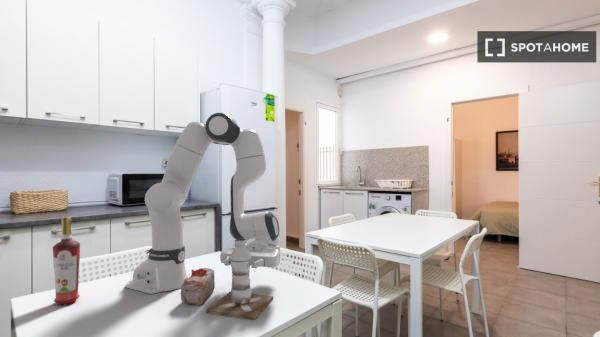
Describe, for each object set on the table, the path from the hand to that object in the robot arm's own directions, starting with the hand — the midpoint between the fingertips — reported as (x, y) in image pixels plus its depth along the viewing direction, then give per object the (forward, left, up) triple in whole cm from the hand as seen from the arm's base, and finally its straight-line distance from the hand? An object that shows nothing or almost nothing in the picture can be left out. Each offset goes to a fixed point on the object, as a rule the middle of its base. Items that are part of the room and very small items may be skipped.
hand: (239, 264), depth 100 cm
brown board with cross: (0, +1, -13) cm, 14 cm away
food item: (-17, +3, -14) cm, 22 cm away
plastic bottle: (0, +1, -13) cm, 13 cm away
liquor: (-57, -12, -14) cm, 60 cm away
